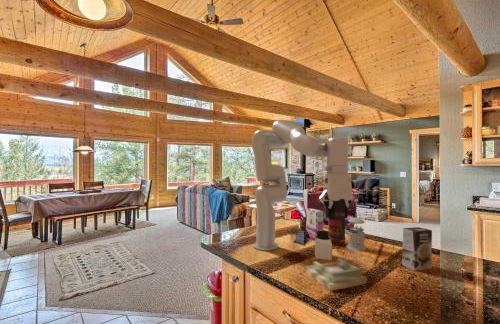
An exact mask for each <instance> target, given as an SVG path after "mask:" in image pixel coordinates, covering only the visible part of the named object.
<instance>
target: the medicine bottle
mask: <svg viewBox="0 0 500 324" xmlns="http://www.w3.org/2000/svg"><path fill="white" fill-rule="evenodd" d="M314 255H315V259H316V260H324V261H333V244H332V239H330V238H329V237H328V230H327V229H326V230H324V229H323V230H319V231H317V239H315V240H314Z"/></svg>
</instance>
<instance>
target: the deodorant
mask: <svg viewBox="0 0 500 324" xmlns="http://www.w3.org/2000/svg"><path fill="white" fill-rule="evenodd" d="M329 202H330V201H329ZM331 208H332V209H333V219H328V230H327V231H328V237H329V238H330V240H333V241H334V240H335V241H343V240H345V239H346V218H345V200H344V199H340V200H339V201H333V204H332V207H331Z"/></svg>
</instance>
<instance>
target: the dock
mask: <svg viewBox="0 0 500 324" xmlns="http://www.w3.org/2000/svg"><path fill="white" fill-rule="evenodd" d="M303 270H304V272H305V274H307V275H309V277H311V278H312V279H314V280H315V281H316V282H318V283H319V284H321V285H322V286H323V287H324V288H325V289H326V290H328V291H330V292H331V291H335V290H340V289H341V290H342V289H346V288H351V287H356V286H361V285H362V286H363V285H367V284H368V278H367V277H366V276H364V275H362V269H361V268H359V267H357V266H355V265H353V264H352V263H350V262H348V261H346V260H344V259H342V258H341V257H337V258H336V261H333V262H327V263H326V262H325V263H320V262H318V261H316V260H315V261H313V263H312V265H305V266H304V268H303ZM366 283H367V284H366Z"/></svg>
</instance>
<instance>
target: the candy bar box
mask: <svg viewBox="0 0 500 324" xmlns="http://www.w3.org/2000/svg"><path fill="white" fill-rule="evenodd" d="M324 213H325V212H324V211H323V210H319V209H315V208H306V222H305V223H306V225H305V226H306V230H307V232H308V234H309V237H310V238H309V237H308V238H309V239H311V240H313V241H315V239H317V231H319V230H324V221H325V220H324V216H325V215H324ZM306 230H305V231H306Z"/></svg>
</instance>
